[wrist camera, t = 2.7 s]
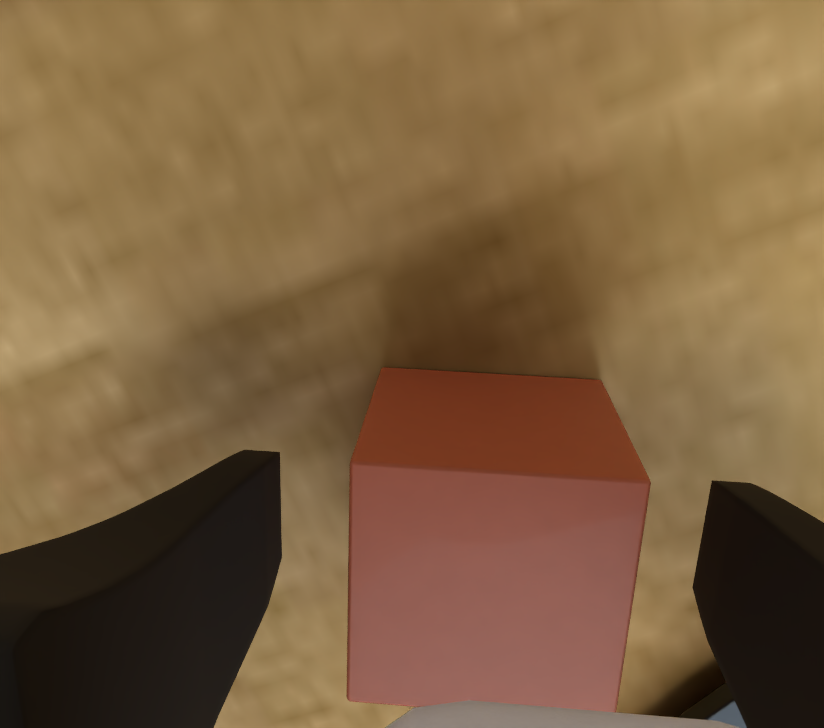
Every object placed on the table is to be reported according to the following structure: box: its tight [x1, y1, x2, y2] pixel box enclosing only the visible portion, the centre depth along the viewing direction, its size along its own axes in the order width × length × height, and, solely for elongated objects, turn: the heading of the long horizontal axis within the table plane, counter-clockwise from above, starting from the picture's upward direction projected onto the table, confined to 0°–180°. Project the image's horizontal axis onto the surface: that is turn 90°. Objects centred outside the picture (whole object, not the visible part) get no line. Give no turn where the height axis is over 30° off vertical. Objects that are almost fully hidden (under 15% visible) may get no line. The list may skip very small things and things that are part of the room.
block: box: [347, 367, 651, 712], centre depth 13 cm, size 4×4×4 cm
